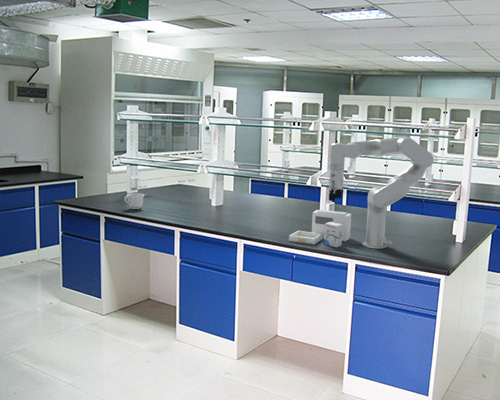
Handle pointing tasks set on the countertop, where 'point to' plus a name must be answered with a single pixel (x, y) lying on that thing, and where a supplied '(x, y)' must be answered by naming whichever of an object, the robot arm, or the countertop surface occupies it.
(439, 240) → the countertop surface
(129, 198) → the teacup
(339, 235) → the ink box
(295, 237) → the tray
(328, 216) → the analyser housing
